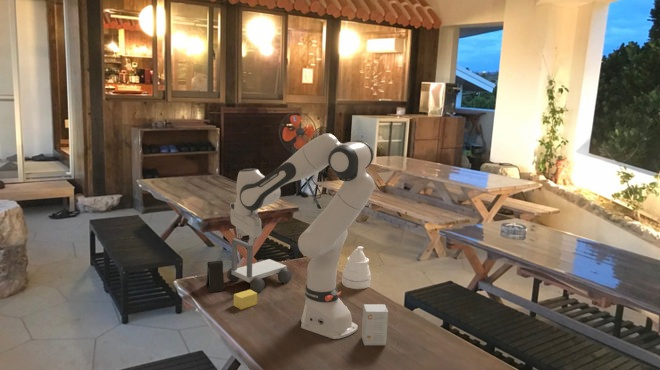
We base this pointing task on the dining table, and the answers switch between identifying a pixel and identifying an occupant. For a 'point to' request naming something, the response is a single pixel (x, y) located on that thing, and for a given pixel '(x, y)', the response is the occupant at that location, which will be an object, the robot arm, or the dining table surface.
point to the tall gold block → (245, 299)
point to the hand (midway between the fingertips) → (244, 241)
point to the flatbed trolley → (255, 269)
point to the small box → (374, 324)
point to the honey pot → (356, 270)
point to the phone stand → (215, 276)
